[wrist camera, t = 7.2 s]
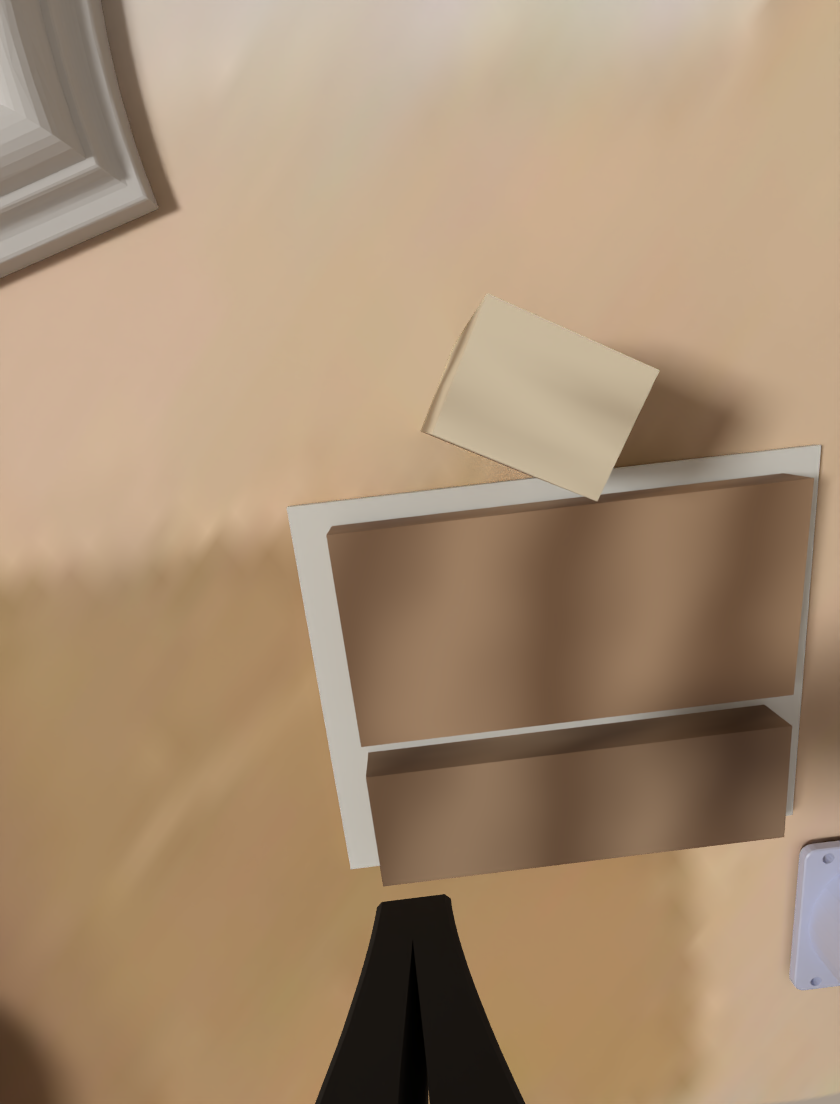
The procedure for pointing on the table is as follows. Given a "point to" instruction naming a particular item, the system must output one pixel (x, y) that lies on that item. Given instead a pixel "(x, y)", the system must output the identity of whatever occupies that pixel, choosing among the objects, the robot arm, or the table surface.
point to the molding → (62, 133)
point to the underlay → (319, 517)
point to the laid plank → (579, 794)
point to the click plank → (573, 607)
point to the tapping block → (538, 398)
